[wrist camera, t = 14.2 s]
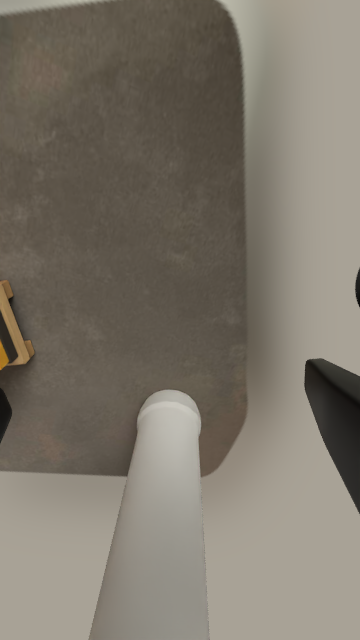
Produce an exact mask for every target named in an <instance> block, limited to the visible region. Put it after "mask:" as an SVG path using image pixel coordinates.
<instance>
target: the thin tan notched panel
mask: <svg viewBox="0 0 360 640" xmlns="http://www.w3.org/2000/svg"><path fill="white" fill-rule="evenodd" d="M12 296H13V292H12V290H11V287H10V284H9V282H8V280H5V281H0V310H1V313H2V315H3V318H4V320H5V323H6V325H7V328H8V330H9V333H10V336H11V338H12V341H13V343H14V346H15V348H16V351H17V353H18V358H17V359H16V360H15V361H14V362H13V363H11V364H6V365H5V366H9V365H20V364H26V363H27V361H28V360H29V359H30V358H31V357H32V356H33V355H34V354H35V352H34V349H33V346H32V344H31V341H30V340H27V341H23V338H22V336H21V333H20V330H19V328H18V325H17V322H16V320H15V317H14V315H13V312H12V309H11V307H10V304H9V301H8V299H9V298H11V297H12Z"/></svg>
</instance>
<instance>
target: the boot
mask: <svg viewBox="0 0 360 640" xmlns="http://www.w3.org/2000/svg"><path fill="white" fill-rule="evenodd" d="M17 358H18V353H17V351H16V348H15V346H14V343H13V341H12V338H11V336H10V333H9V330H8V328H7V325H6V323H5V320H4V318H3V315H2V313H1V310H0V370H1V369H2V368H3V367H4V366H5V365H6V364H11V363H13V362H14V361H15V360H16V359H17Z"/></svg>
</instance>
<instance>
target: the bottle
mask: <svg viewBox="0 0 360 640" xmlns="http://www.w3.org/2000/svg"><path fill="white" fill-rule="evenodd" d="M137 430H138V434H137V439H136V443H135V447H134V451H133V455H132V460H131V464H130V468H129V472H128V476H127V481H126V485H125V489H124V493H123V497H122V502H121V506H120V510H119V514H118V518H117V523H116V527H115V531H114V535H113V539H112V544H111V548H110V552H109V556H108V560H107V565H106V569H105V573H104V577H103V581H102V586H101V590H100V594H99V598H98V602H97V607H96V611H95V615H94V619H93V623H92V628H91V632H90V636H89V640H209V621H208V603H207V586H206V568H205V550H204V532H203V514H202V497H201V480H200V479H201V478H200V460H199V442H198V436H199V435H200V430H201V417H200V414H199V411H198V408H197V405H196V403H195V401H194V400H193V399H191V398H190V397H189V396H188V395H187V394H185V393H183V392H180V391H178V390H168V389H166V390H162V391H158V392H155V393H154V394H152V395H151V396H149V397H148V398H147V399H146V401H145V403H144V404H143V406H142V408H141V409H140V412H139V415H138V419H137Z"/></svg>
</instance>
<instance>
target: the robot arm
mask: <svg viewBox="0 0 360 640" xmlns="http://www.w3.org/2000/svg"><path fill="white" fill-rule="evenodd" d="M359 305H360V303H359ZM304 384H305V391H306V394H307V397H308V400H309V403H310V406H311V408H312V411H313V414H314V417H315V420H316V422H317V425H318V428H319V430H320V433H321V436H322V438H323V441H324V443H325V445H326V447H327V449H328V451H329V454H330V456H331V457H332V460H333V462H334V464H335V465H336V468H337V470H338V471H339V473H340V476H341V477H342V479H343V481H344V484H345V486H346V487H347V490H348V491H349V493H350V495H351V498H352V500H353V502H354V504H355V506H356V507H357V510H358V512H359V514H360V376H358V375H356V374H353V373H351V372H349V371H347V370H345V369H343V368H341V367H339V366H337V365H335V364H333V363H330V362H328V361H326V360H324V359H309V360H307V361H306V365H305V383H304ZM11 416H12V409H11V406H10V404H9V402H8V399H7V397H6V395H5V393H4V391H3V390H2V389H1V388H0V443H1V441H2V438H3V436H4V433H5V431H6V429H7V426H8V424H9V421H10V419H11Z"/></svg>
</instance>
